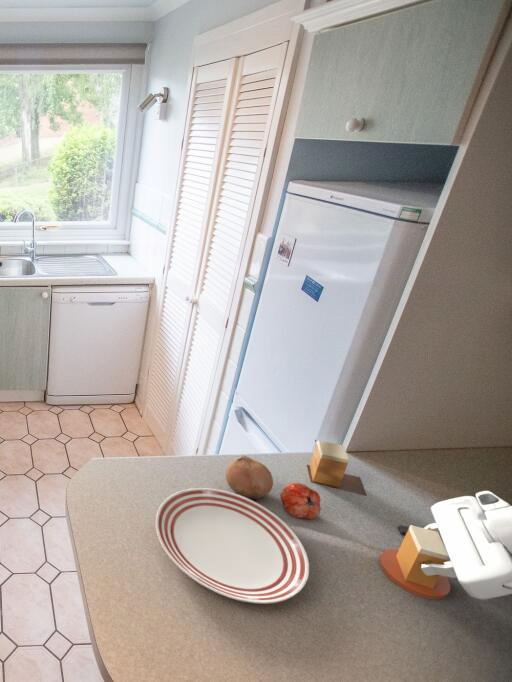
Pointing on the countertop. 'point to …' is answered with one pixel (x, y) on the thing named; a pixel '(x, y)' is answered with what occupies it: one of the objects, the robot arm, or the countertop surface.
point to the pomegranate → (300, 501)
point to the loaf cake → (333, 468)
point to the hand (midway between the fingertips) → (417, 553)
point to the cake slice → (421, 555)
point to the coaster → (395, 574)
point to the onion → (249, 478)
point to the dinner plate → (232, 545)
